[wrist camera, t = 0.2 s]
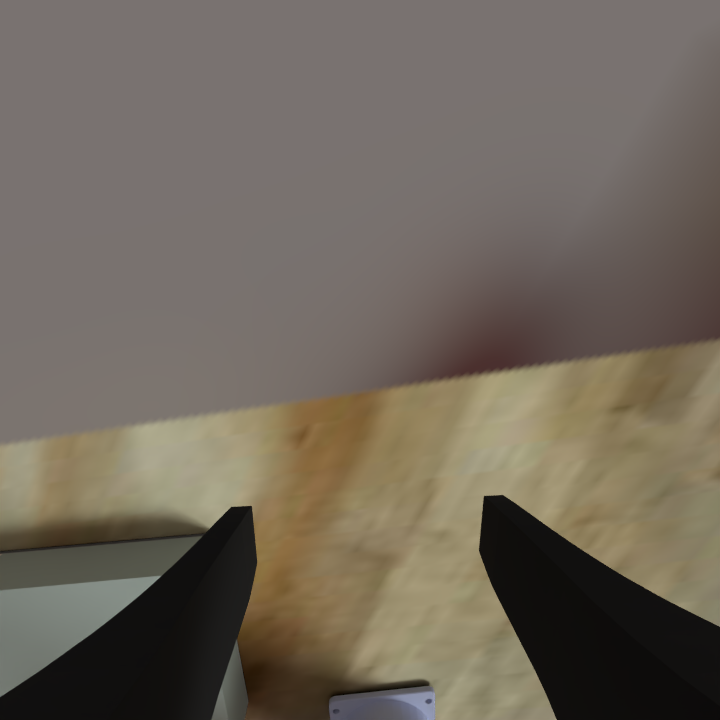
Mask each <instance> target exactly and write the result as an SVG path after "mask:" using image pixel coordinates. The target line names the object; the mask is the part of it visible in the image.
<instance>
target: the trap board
mask: <svg viewBox="0 0 720 720" xmlns="http://www.w3.org/2000/svg"><path fill="white" fill-rule="evenodd" d="M203 535H204V534H195V535H183V536H172V537H161V538H149V539H138V540H126V541H115V542H103V543H92V544H81V545H69V546H58V547H46V548H35V549H23V550H12V551H0V697H1V696H2V695H4V694H6V693H7V692H9V691H10V690H12V689H13V688H15V687H16V686H18V685H19V684H21V683H22V682H24V681H25V680H27V679H28V678H30V677H31V676H33V675H34V674H36V673H37V672H39V671H40V670H42V669H43V668H44V667H46V666H47V665H49V664H50V663H51V662H53V661H54V660H56V659H57V658H58V657H60V656H61V655H63V654H64V653H65V652H67V651H68V650H70V649H71V648H72V647H74V646H75V645H76V644H78V643H79V642H81V641H82V640H83V639H85V638H86V637H88V636H89V635H90V634H92V633H93V632H94V631H96V630H97V629H98V628H100V627H101V626H102V625H104V624H105V623H106V622H107V621H109V620H110V619H111V618H112V617H114V616H115V615H116V614H117V613H119V612H120V611H121V610H123V609H124V608H125V607H126V606H127V605H129V604H130V603H131V602H132V601H133V600H135V599H136V598H137V597H138V596H139V595H141V594H142V593H143V592H144V591H145V590H146V589H148V588H149V587H150V586H151V585H152V584H153V583H154V582H155V581H156V580H157V579H159V578H160V577H161V576H162V575H163V574H164V573H165V572H166V571H167V570H168V569H169V568H171V567H172V566H173V565H174V564H175V563H176V562H177V561H178V560H179V559H180V558H181V557H182V556H183V555H184V554H185V553H186V552H187V551H188V550H189V549H190V548H191V547H192V546H193V545H194V544H195V543H196V542H197V541H198V540H199V539H200V538H201V537H202V536H203ZM247 706H248V696H247V691H246V686H245V680H244V675H243V670H242V664H241V659H240V654H239V649H238V643H237V640H236V643H235V646H234V649H233V652H232V655H231V658H230V661H229V664H228V668H227V671H226V674H225V677H224V680H223V683H222V686H221V689H220V692H219V695H218V699H217V702H216V706H215V709H214V713H213V716H212V720H245V715H246V711H247Z"/></svg>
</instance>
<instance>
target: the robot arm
mask: <svg viewBox="0 0 720 720" xmlns="http://www.w3.org/2000/svg"><path fill="white" fill-rule="evenodd" d="M479 552H480V555H481V558H482V560H483V563H484V566H485V569H486V571H487V574H488V577H489V579H490V582H491V584H492V587H493V589H494V591H495V593H496V595H497V597H498V599H499V601H500V603H501V605H502V607H503V609H504V611H505V613H506V615H507V617H508V618H509V620H510V622H511V624H512V626H513V628H514V630H515V632H516V634H517V636H518V638H519V640H520V642H521V644H522V646H523V648H524V650H525V652H526V654H527V656H528V658H529V660H530V662H531V663H532V665H533V667H534V669H535V671H536V673H537V676H538V678H539V680H540V682H541V684H542V686H543V688H544V690H545V693H546V695H547V697H548V700H549V702H550V704H551V707H552V709H553V712H554V714H555V716H556V719H557V720H720V627H719V626H717V625H715V624H713V623H711V622H709V621H707V620H705V619H703V618H701V617H699V616H697V615H695V614H693V613H691V612H689V611H687V610H685V609H683V608H681V607H679V606H677V605H675V604H673V603H671V602H669V601H667V600H665V599H663V598H661V597H660V596H658V595H656V594H654V593H652V592H651V591H649V590H647V589H645V588H644V587H642V586H640V585H638V584H636V583H635V582H633V581H631V580H629V579H628V578H626V577H624V576H622V575H621V574H619V573H617V572H616V571H614V570H612V569H611V568H609V567H608V566H606V565H604V564H603V563H601V562H600V561H598V560H597V559H595V558H593V557H592V556H590V555H589V554H587V553H586V552H584V551H583V550H581V549H580V548H578V547H577V546H575V545H574V544H572V543H571V542H569V541H568V540H566V539H565V538H563V537H562V536H560V535H559V534H558V533H556V532H555V531H553V530H552V529H550V528H549V527H548V526H546V525H545V524H543V523H542V522H541V521H539V520H538V519H536V518H535V517H534V516H532V515H531V514H529V513H528V512H527V511H525V510H524V509H522V508H521V507H520V506H518V505H517V504H515V503H514V502H512V501H511V500H510V499H508V498H506V497H505V496H503V495H496V496H484V501H483V512H482V523H481V534H480V545H479ZM256 566H257V555H256V545H255V534H254V524H253V514H252V506H242V507H231V508H230V509H229V510H228V511H227V512H226V513H225V514H224V515H223V516H222V517H221V518H220V519H219V520H218V521H217V522H216V523H215V524H214V525H213V526H212V527H211V528H210V529H209V530H208V531H207V532H206V533H205V534H204V535H203V536H202V537H201V538H200V539H199V540H198V541H197V542H196V543H195V544H194V545H193V546H192V547H191V548H190V549H189V550H188V551H187V552H186V553H185V554H184V555H183V556H182V557H181V558H180V559H179V560H178V561H177V562H176V563H175V564H174V565H173V566H172V567H171V568H169V569H168V570H167V571H166V572H165V573H164V574H163V575H162V576H161V577H160V578H159V579H157V580H156V581H155V582H154V583H153V584H152V585H151V586H150V587H149V588H148V589H146V590H145V591H144V592H143V593H142V594H141V595H139V596H138V597H137V598H136V599H135V600H133V601H132V602H131V603H130V604H129V605H127V606H126V607H125V608H124V609H123V610H121V611H120V612H119V613H117V614H116V615H115V616H114V617H112V618H111V619H110V620H109V621H107V622H106V623H105V624H104V625H102V626H101V627H100V628H98V629H97V630H96V631H94V632H93V633H92V634H90V635H89V636H88V637H86V638H85V639H83V640H82V641H81V642H79V643H78V644H76V645H75V646H74V647H72V648H71V649H70V650H68V651H67V652H65V653H64V654H63V655H61V656H60V657H58V658H57V659H56V660H54V661H53V662H51V663H50V664H49V665H47V666H46V667H44V668H43V669H42V670H40V671H39V672H37V673H36V674H34V675H33V676H31V677H30V678H28V679H27V680H25V681H24V682H22V683H21V684H19V685H18V686H16V687H15V688H13V689H12V690H10V691H9V692H7V693H6V694H4V695H2V696H1V697H0V720H212V716H213V713H214V709H215V706H216V702H217V699H218V695H219V692H220V689H221V686H222V683H223V680H224V677H225V674H226V671H227V668H228V664H229V661H230V658H231V655H232V652H233V649H234V646H235V643H236V640H237V637H238V634H239V631H240V628H241V624H242V621H243V618H244V615H245V612H246V609H247V606H248V602H249V599H250V595H251V590H252V585H253V581H254V576H255V571H256ZM329 713H330V720H435V693H434V689H433V688H432V687H431V686H422V687H412V688H403V689H394V690H385V691H375V692H366V693H357V694H348V695H338V696H333V697H331V698H330V700H329Z"/></svg>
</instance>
